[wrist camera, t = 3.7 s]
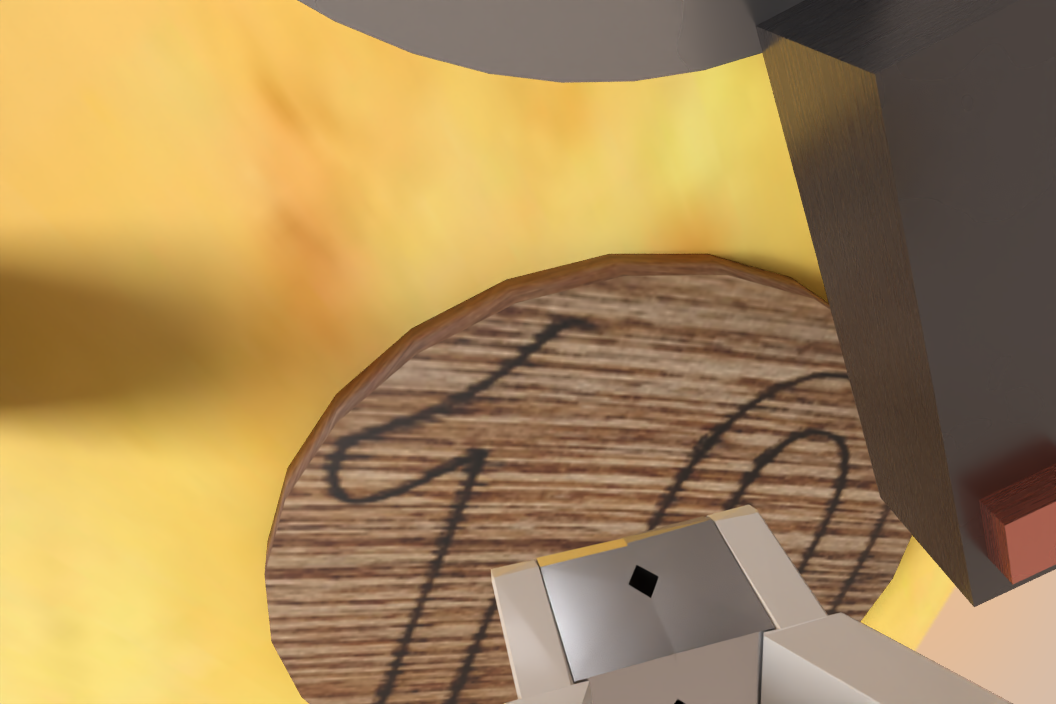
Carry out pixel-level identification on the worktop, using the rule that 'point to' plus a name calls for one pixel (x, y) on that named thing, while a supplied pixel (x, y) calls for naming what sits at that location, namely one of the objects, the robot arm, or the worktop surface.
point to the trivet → (563, 464)
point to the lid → (870, 217)
